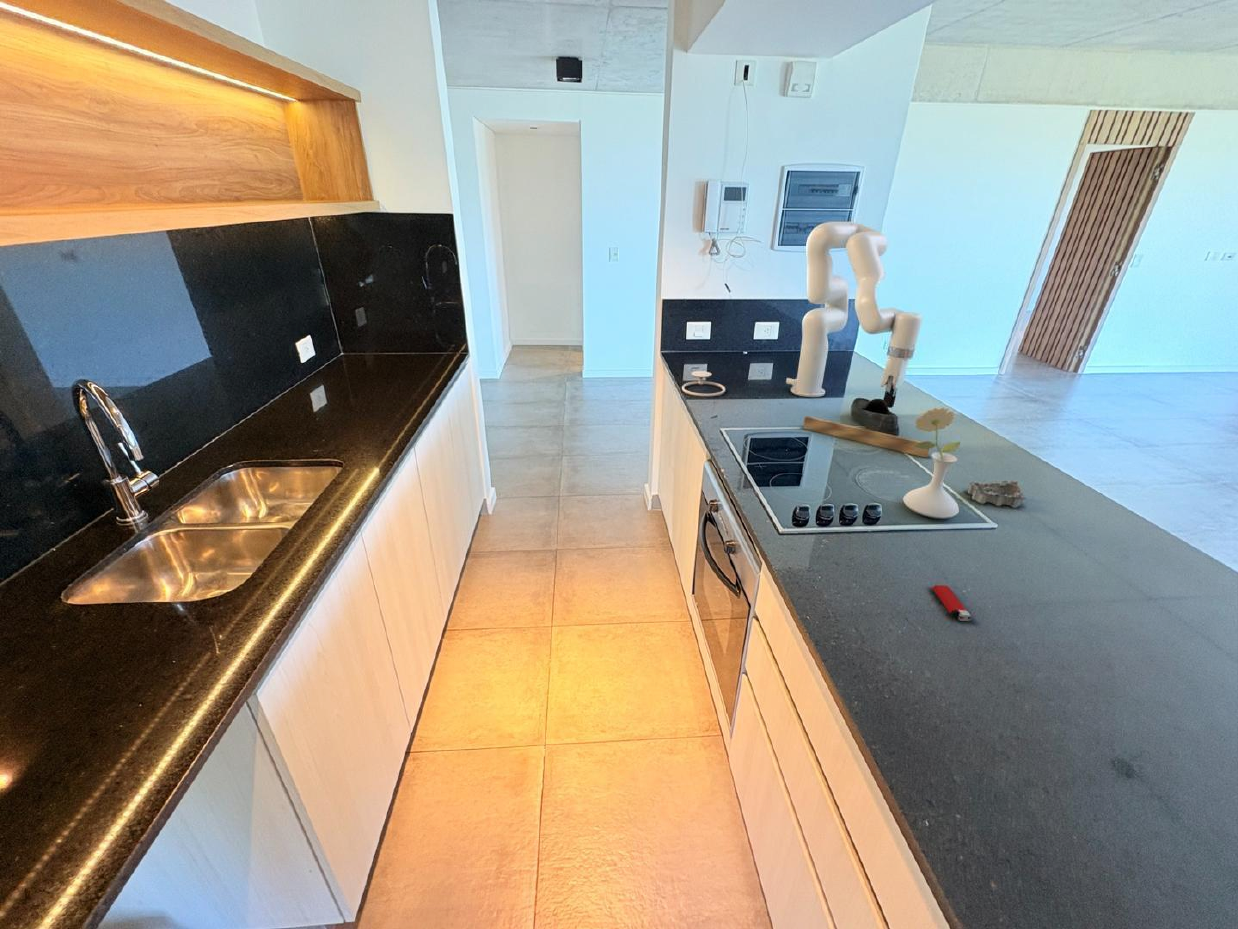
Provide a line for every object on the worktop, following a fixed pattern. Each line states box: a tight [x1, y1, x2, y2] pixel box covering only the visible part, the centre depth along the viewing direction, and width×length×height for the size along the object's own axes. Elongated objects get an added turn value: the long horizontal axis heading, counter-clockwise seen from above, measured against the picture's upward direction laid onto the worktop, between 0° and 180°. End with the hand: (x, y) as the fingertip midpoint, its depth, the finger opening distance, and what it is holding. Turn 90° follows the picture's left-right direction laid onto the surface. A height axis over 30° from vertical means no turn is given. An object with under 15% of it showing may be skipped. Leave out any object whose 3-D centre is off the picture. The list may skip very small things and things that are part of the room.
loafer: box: [850, 397, 900, 437], centre depth 168 cm, size 10×29×10 cm, turn 179°
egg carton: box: [967, 480, 1027, 508], centre depth 127 cm, size 11×8×4 cm
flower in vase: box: [902, 407, 961, 519], centre depth 118 cm, size 13×11×25 cm
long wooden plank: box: [802, 415, 930, 458], centre depth 159 cm, size 36×1×4 cm, turn 51°
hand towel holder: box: [681, 370, 726, 398], centre depth 207 cm, size 17×4×21 cm
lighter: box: [932, 584, 973, 622], centre depth 93 cm, size 3×1×8 cm
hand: (887, 406), depth 177 cm, fingers closed
